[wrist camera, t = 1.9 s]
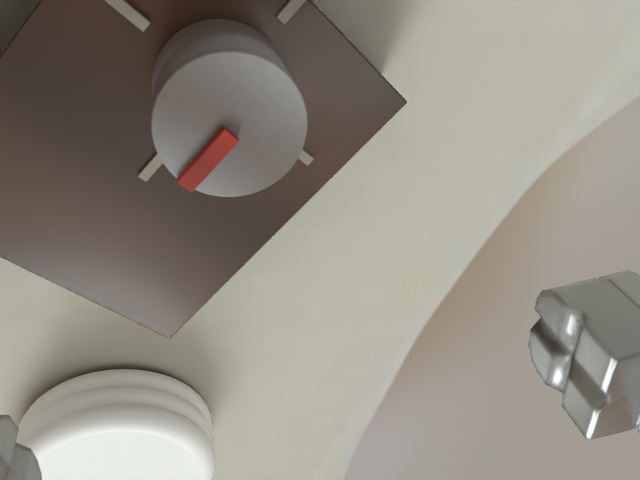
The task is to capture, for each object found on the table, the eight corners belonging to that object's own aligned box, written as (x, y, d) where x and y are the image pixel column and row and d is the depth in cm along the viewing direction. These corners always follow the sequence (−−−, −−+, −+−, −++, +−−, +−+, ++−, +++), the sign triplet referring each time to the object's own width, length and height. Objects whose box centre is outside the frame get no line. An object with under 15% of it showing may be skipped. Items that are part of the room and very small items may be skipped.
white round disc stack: (60, 341, 27) (49, 399, 24) (243, 389, 32) (251, 441, 29) (-9, 468, 30) (-26, 531, 28) (164, 493, 35) (164, 549, 32)
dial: (211, -14, 17) (223, 16, 14) (312, 81, 19) (341, 125, 16) (123, 94, 18) (116, 144, 15) (228, 171, 20) (241, 227, 17)
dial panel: (162, -169, 17) (163, -172, 14) (387, 70, 23) (415, 97, 20) (-78, 164, 21) (-110, 208, 18) (168, 295, 27) (169, 341, 24)
